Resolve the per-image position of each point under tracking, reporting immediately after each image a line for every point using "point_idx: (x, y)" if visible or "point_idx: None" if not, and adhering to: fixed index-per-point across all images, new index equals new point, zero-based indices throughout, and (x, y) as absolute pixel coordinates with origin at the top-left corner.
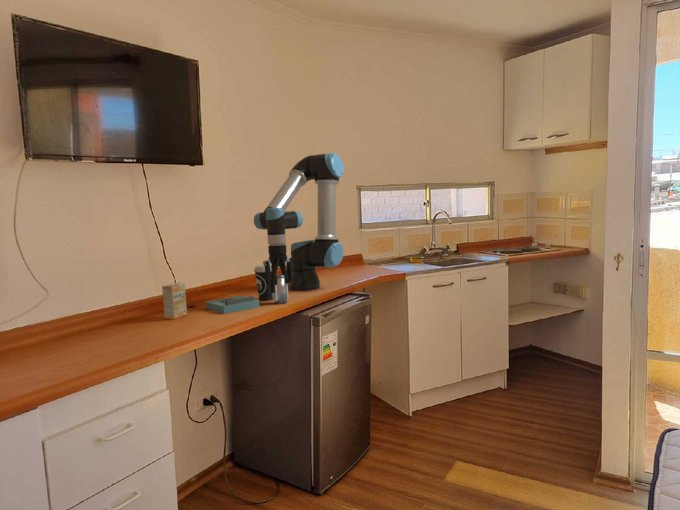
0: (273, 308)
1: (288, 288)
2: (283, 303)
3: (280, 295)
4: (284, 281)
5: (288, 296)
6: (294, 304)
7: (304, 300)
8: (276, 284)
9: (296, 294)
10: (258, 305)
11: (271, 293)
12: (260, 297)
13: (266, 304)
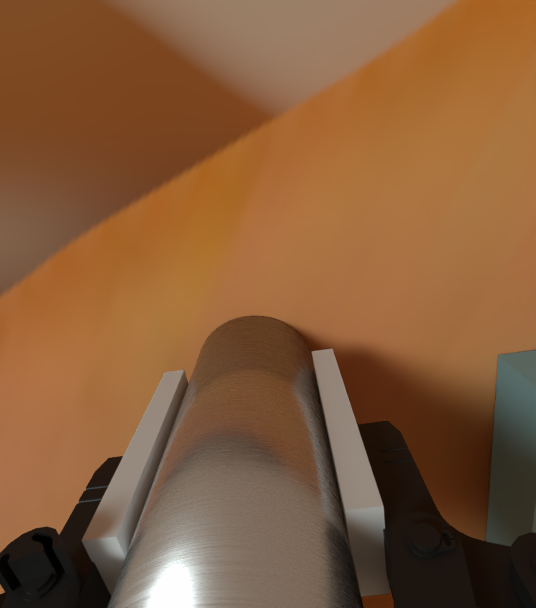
0: (451, 169)
1: (106, 478)
2: (253, 316)
3: (281, 369)
4: (148, 562)
5: (159, 384)
6: (165, 203)
7: (3, 326)
8: (342, 538)
9: None
10: (518, 361)
11: None
12: None
13: (384, 413)
